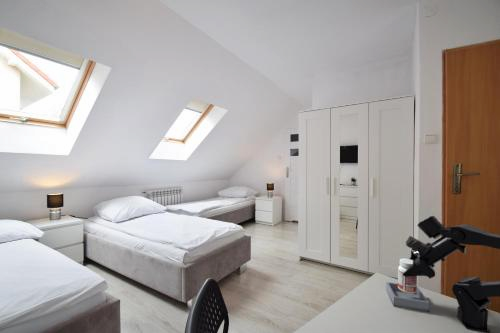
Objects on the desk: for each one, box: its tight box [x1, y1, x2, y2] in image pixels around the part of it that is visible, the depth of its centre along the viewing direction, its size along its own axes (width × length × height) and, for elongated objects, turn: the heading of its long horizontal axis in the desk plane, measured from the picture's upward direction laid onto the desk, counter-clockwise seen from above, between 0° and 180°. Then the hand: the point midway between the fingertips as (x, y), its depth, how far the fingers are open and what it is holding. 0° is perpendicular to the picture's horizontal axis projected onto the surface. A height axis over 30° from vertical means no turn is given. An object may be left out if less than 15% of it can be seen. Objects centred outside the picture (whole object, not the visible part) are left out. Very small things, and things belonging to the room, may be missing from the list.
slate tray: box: [385, 281, 430, 313], centre depth 93 cm, size 11×11×4 cm
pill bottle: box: [397, 257, 418, 294], centre depth 93 cm, size 6×6×11 cm
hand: (403, 271), depth 94 cm, fingers closed on pill bottle, 6 cm apart
